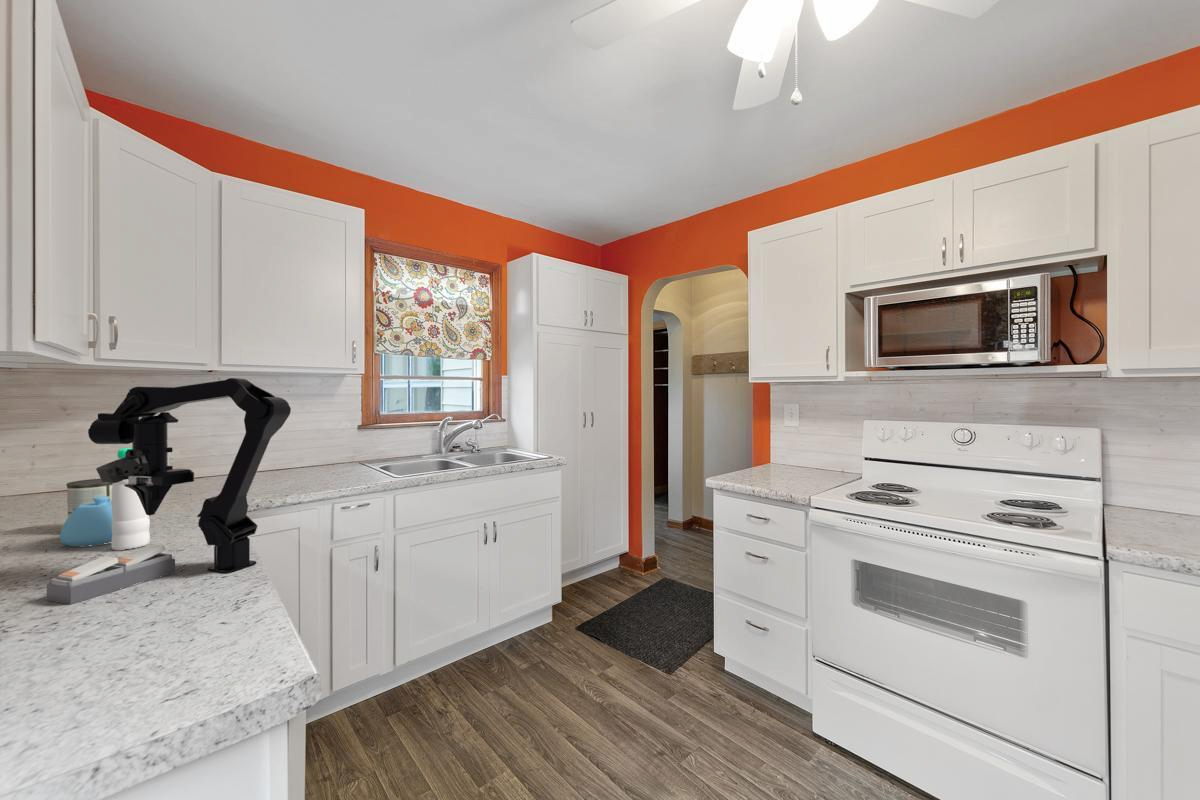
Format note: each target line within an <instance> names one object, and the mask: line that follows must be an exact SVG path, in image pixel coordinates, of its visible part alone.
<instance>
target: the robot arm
mask: <svg viewBox="0 0 1200 800" xmlns="http://www.w3.org/2000/svg"><path fill="white" fill-rule="evenodd" d="M226 398H227V399H228V398H230V399H231V400H232V401H233V402H234V404H235V405H236V406H237V407H238V408H239V409H240V410H242V411H244V412H245V414H244V418H243V422H244V429H245V430H244V431H245V434H244V436H243V439H242V442H241V444H240V446H239V448H238V449H237V450H238V451H237V453H236V456H235V457H234V460H233V463H232V465H231V467H230V470H229V472H228V473H227V476H226V479H225V481H224V484H223V486H222V488H221V491H220V492H219V494H217V495H216V496H212V497H209V498H206V499H204V502H203V504H202V507H201V508H202V509H201V510H200V512H199V513H198V514H197V516H196V517H197V518H198V523H197V526H198V527H199V528H200V531H201V532H202V533H203V536H204V539H205V541H206V544H207V545H208V546H214V547H213V564H214V565H212V566H208V567H207V571H212V572H219V573H227V574H228V573H232V572H235V571H238V570H241V569H244V568H247V567H250V566H253V565H255V564H257V561H256V560H250V557H251V556H250V553H251V551H250V548H251V547H250V546H251V545H250V542H251V541H250V538H249V536H252V535H253V536H254V535H255V534H256V531H257V529H258V524H257V523H256V522H254V521H253V520H252V519H251V518H250V517H249V516H248V515H247V512H248V507H249V505H248V499H247V496H248V493H249V490H250V488H251V486H252V483H253V481H254V479H255V476H256V473H257V471H258V469H259V467H260V465H261V461H262V459H263V457H264V455H265V453H266V450H267V447H268V445H269V443H270V440H271V438H273V436H274V435H275V434H276V433H277V432H278V431H279V430H280V429H282V427H283V425H284V424H285V423H286V421H287V420H288V418H289V416H290V414H291V412H292V411H291V409H292V408H291V406H290V404H289V403H288V401H287V400H286V399H284V398H282V397H279V396H275V395H273V394H272V393H270V392H269V391H266V390H265V389H262V388H261V387H259V386H257V385H255V384H254V383H252V382H251V381H249V380H248V379H245V378H236V377H235V378H234V377H230V378H227V379H224V380H214V381H209V382H202V383H194V384H187V385H181V386H176V387H175V386H174V387H173V386H171V387H170V386H169V387H168V386H167V387H166V386H134V387H131V388H130V389H129V391H128V392H127V393H126V396H125V397H124V400H122V402H121V403H120V405H119V406H118V407H117V408H116V410H115V411H114V412H113V413H112V412H103V413H102V412H101V413H97V419H95V420H94V421H92V422H91V424H90V427H89V428H88V430H87V432H88V433H87V434H88V437H89V439H90V441H91V442H93V443H94V444H97V445H128V444H129V445H130V444H131V443H132V444H131V445H132V446H131V448H132V449H127V451H126V452H125V457H124V458H121V459H119V458H118V459H116V460H112V461H111V462H108V463H105V464H103V465H100V466H97V467H96V468H95V470H96V471H97V474H98V475H99V479H101V480H102V482H104V483H105V482H111V483H117V482H120V481H122V480H126V479H128V484H125V485H124V486H125V487H128V488H130V489H132V490H134V491H135V492H136V493H137V495H138V497H139V499H140V501H141V504H142V506H143V508H144V510H145V513H146V515H149V516H153V515H155V514H156V512H157V511H158V509H159V507H160V506H161V504H162V502H163V500H164V499H165V497H166V496H167V494H168V493H169V491H170V490H171V489H172V486H174V485H179V484H185V483H194V482H195V472H194V471H193V470H192V469H188V468H173V465H168V459H169V458H168V457H169V456H168V453H173V447H170V446H169V447H168V424H174V423H176V424H177V423H178V422H179V419H178V418H177V417H175V416H173V415H172V414H171V412H169V411H172V410H176V409H178V408H180V407H182V406H184V405H187V404H192V403H193V404H194V403H199V402H205V401H213V400H220V399H226Z"/></svg>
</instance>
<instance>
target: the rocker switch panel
mask: <svg viewBox="0 0 1200 800" xmlns="http://www.w3.org/2000/svg"><path fill="white" fill-rule="evenodd" d="M174 572H175V573H176V558H173V554H170V553H163V552H160V553H158V554H156V555H154V556H152V557H150V558H148V559H145V560H143V561H141V562H139V563H137V564H133V565H129V566H125V567H122V566H115V565H112V566H110V567H107V568H105V569H103V570H101V571H98V572H96V573H94V574H92V575H89V576H87V577H85V578H81V579H77V580H74V581H65V580H59V577H58V576H57V577H55V578H54V577H53V578H51V579H50V580H49V583H47V584H46V601H50V602H51V601H52V602H56V603H62V604H66V605H73V604H77V603H81V602H83V601H84V602H85V601H86V600H90V598H91V599H94V598H97V597H100V596H103V595H102V594H104V595H106V593H107V594H110V593H113V592H112V591H114V592H116V591H115V590H117V589H120V588H123V587H127V586H130V585H133V584H136V583H139V582H143V581H146V582H148V581H147V580H150V581H152V580H151V579H153V580H155V579H154V578H156V579H158V578H157V577H159V578H161V577H160V576H163V577H165V576H164V575H166V576H168V575H167V574H169V575H172V574H171V573H173V574H175V573H174ZM143 583H144V582H143ZM136 585H137V584H136ZM133 586H134V585H133ZM130 587H131V586H130ZM127 588H128V587H127ZM123 589H124V588H123ZM120 590H121V589H120ZM117 591H118V590H117ZM109 592H110V593H109ZM99 595H100V596H99ZM96 596H97V597H96ZM93 597H94V598H93Z"/></svg>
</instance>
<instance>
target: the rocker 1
mask: <svg viewBox="0 0 1200 800" xmlns="http://www.w3.org/2000/svg"><path fill="white" fill-rule="evenodd" d="M118 559H119V558H118V557H114V556H107V555H103V556H101V557H98V558H95V559H94V560H91V561H89V562H87V563H84V564H81V565H80V566H77V567H75V568H73V569H70V570H67V571H64V572H63V573H60V574H58V575H57V577H59V580H65V581H74V580H77V579H81V578H85V577H87V576H89V575H92V574H94V573H96V572H98V571H101V570H103V569H105V568H107V567H110V566H112V565H114V564H116V563H118Z"/></svg>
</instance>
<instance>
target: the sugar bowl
mask: <svg viewBox="0 0 1200 800" xmlns="http://www.w3.org/2000/svg"><path fill="white" fill-rule="evenodd" d="M109 498H110V497H108V496H103V497H96V498H93V499H94V501H95V503H89V504H84V505H80V506H78V507H77V508H76V509H75V510H74V511H73V512H72V513H71V515H70V516H69V517H68V516H67V518H66V520H65V522H64V524H63V526H62V527H61V528H60V534H59V540H60V541H61V542H62V543H63V544H64V545H65V546H67V545H68V546H67V547H69V546H89V545H98V544H104V543H109V542H112V535H113V534H112V521H113V518H112V504H111V501H108V500H109ZM98 546H99V545H98ZM89 547H90V546H89Z"/></svg>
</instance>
